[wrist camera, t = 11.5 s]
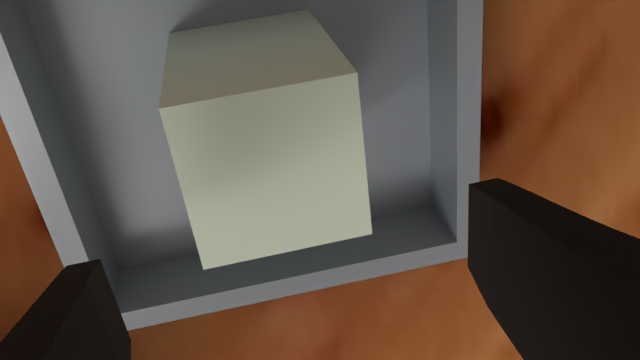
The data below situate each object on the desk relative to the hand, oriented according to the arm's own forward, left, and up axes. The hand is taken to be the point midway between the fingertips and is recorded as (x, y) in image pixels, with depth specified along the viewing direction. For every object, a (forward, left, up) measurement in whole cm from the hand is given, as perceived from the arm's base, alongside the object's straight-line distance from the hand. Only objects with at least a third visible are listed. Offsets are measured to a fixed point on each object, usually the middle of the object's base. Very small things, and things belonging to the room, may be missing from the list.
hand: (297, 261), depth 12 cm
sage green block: (0, 0, -10) cm, 10 cm away
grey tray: (0, 0, -10) cm, 10 cm away
